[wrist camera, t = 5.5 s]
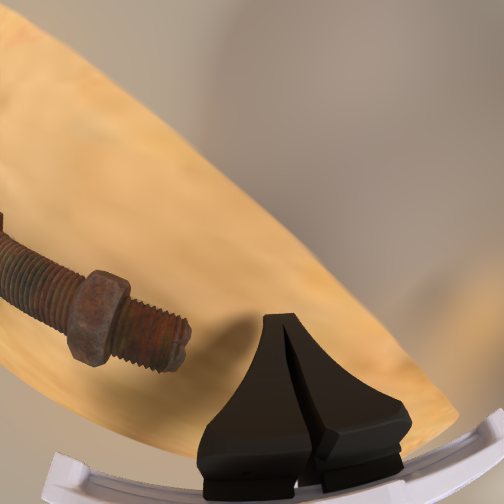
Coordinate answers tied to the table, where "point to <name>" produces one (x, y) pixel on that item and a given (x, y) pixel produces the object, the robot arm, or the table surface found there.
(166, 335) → the bolt
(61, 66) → the table surface
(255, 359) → the robot arm
